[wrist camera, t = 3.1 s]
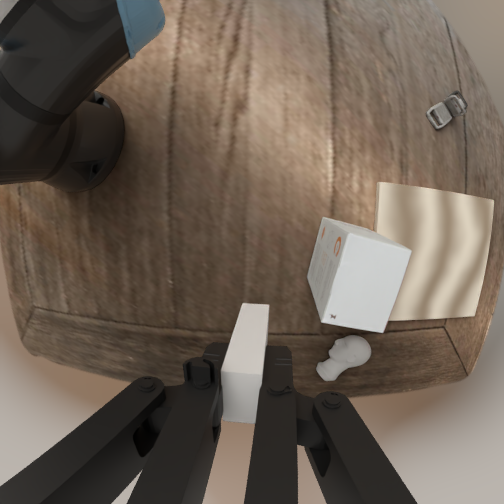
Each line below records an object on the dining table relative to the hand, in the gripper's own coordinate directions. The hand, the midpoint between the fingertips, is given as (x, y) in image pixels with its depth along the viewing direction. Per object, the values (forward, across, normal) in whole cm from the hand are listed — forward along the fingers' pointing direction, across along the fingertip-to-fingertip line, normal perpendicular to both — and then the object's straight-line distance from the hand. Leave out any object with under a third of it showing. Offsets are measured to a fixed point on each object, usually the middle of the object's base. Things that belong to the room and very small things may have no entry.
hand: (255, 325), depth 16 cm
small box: (+20, +9, 0) cm, 22 cm away
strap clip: (+21, +25, +21) cm, 39 cm away
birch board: (+20, +23, 0) cm, 31 cm away
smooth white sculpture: (+21, +11, -14) cm, 27 cm away
